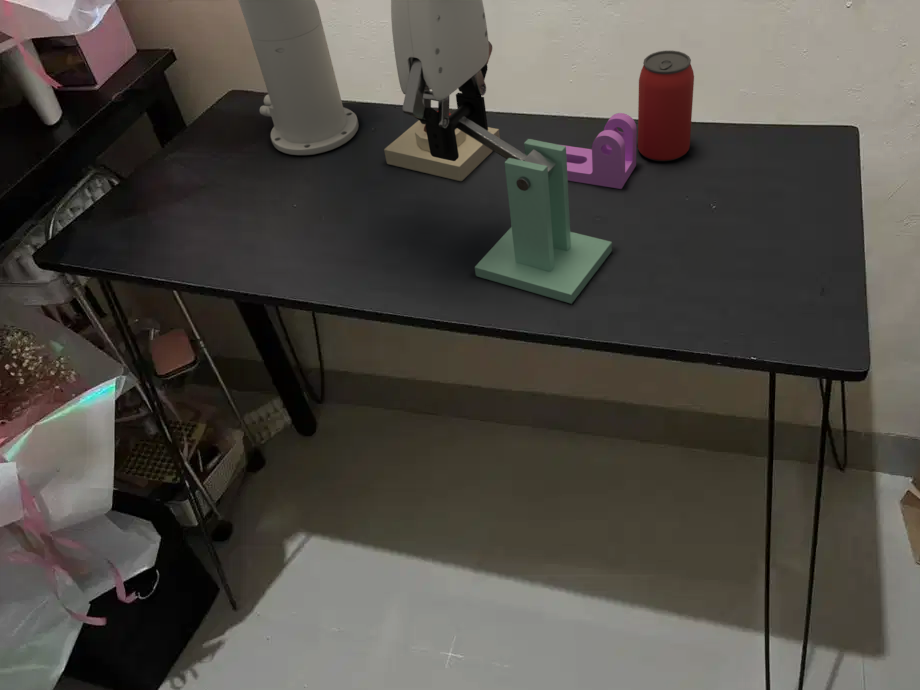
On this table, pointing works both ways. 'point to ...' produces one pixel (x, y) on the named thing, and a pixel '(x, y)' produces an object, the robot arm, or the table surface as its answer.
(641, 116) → the beer can
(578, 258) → the bracket
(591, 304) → the table surface
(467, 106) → the lever
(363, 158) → the table surface
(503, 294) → the table surface
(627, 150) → the bracket
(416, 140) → the control block
